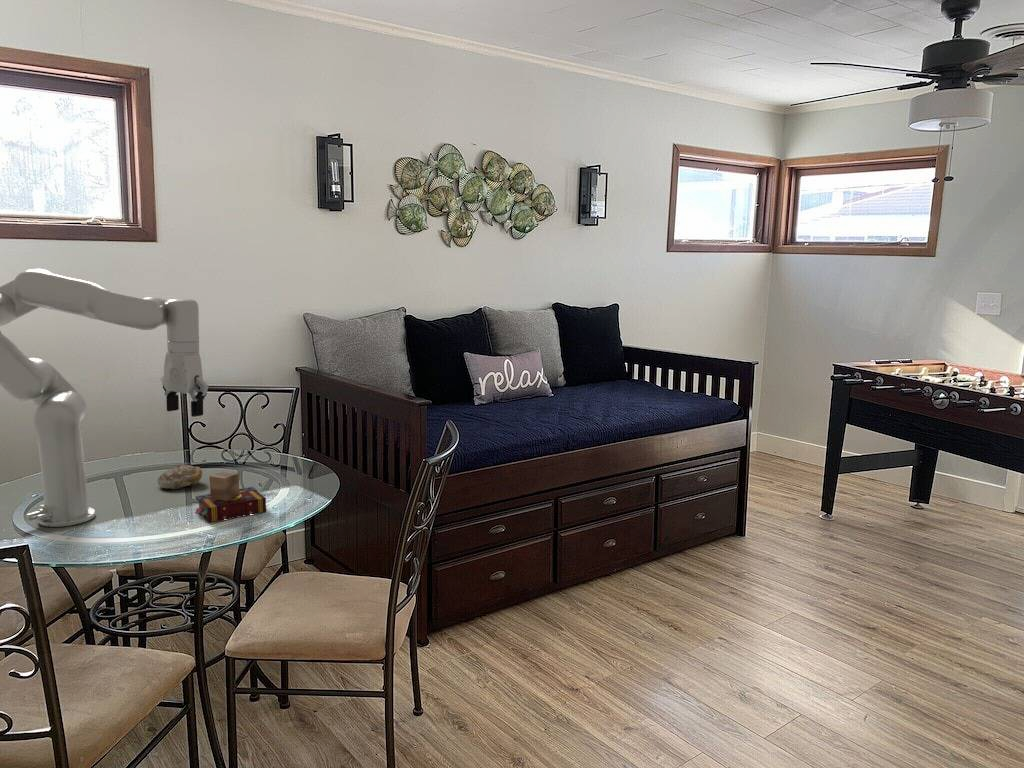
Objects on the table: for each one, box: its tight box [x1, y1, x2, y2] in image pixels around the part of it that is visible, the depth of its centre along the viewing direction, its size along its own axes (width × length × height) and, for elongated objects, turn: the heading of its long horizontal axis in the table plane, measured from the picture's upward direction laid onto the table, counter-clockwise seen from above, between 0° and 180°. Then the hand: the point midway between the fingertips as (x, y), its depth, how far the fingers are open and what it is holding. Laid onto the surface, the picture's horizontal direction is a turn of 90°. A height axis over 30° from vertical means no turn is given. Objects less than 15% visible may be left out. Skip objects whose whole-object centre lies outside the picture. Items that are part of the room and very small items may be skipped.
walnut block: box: [208, 470, 240, 501], centre depth 203 cm, size 5×5×6 cm
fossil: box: [157, 463, 203, 490], centre depth 228 cm, size 12×8×10 cm
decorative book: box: [194, 486, 267, 523], centre depth 206 cm, size 11×16×5 cm
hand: (184, 413), depth 204 cm, fingers open, 9 cm apart
